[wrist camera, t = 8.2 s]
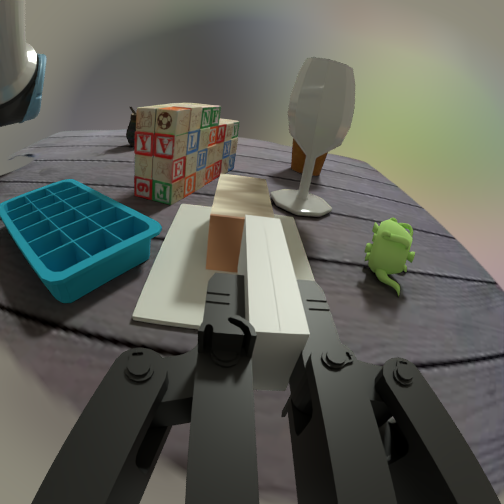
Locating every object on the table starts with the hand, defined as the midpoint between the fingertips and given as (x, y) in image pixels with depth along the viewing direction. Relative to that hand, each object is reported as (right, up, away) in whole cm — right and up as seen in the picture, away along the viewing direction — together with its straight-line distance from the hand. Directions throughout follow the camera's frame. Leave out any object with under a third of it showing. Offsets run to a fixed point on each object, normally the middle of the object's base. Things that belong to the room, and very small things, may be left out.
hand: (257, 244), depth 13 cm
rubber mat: (-2, -1, +15) cm, 15 cm away
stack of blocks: (-10, +11, +32) cm, 35 cm away
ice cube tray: (-19, +1, +12) cm, 23 cm away
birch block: (-1, 0, +10) cm, 10 cm away
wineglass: (+7, +6, +28) cm, 30 cm away
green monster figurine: (+14, -3, +16) cm, 21 cm away
